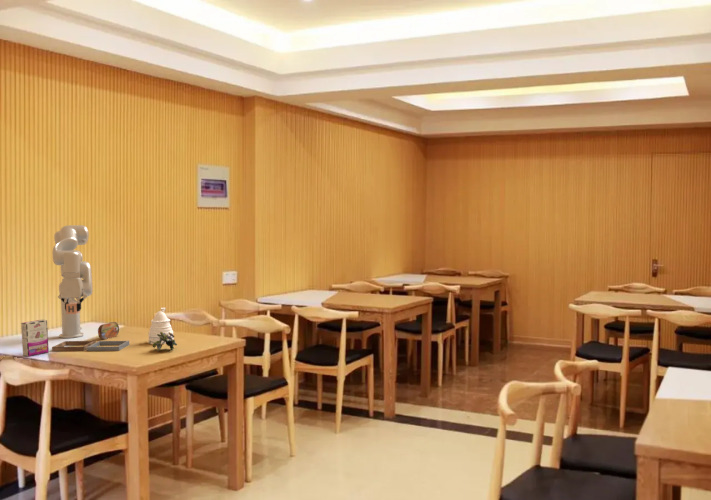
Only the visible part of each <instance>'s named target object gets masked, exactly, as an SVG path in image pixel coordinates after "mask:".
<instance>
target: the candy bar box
mask: <svg viewBox="0 0 711 500" xmlns="http://www.w3.org/2000/svg"><path fill="white" fill-rule="evenodd" d="M20 324H21V325H20V327H21V328H20V329H21V343H22V345H21V346H22V356H23V357H34V356H39V355H43V354H47V353H48V354H49V352H50V351H49V333H48V332H49V331H48V330H49V329H48V328H49V327H48V320H47V319H37V320H32V321H26V322H24V321H23V322H21V323H20Z"/></svg>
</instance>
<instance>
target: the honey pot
mask: <svg viewBox="0 0 711 500" xmlns="http://www.w3.org/2000/svg"><path fill="white" fill-rule="evenodd" d="M165 312H166V307H160V310H159V311H157V312H156V314H155V315H154V317H153V318H152V320H150V322H151V324H150V328H149V330H148V343H149V342H150V340H151V341H152V342H150V344H149V345H153V344H154V343H155V342H156V341H160V337H159V336H158V335H157V333H158V334H160V332H162V333H165V334H166V335H168V336H170V334H169V332H170V333H172V334H173V335H174V330H173V328H172V325H171V322H170V321H171V319H170V318H168V317H167V315H166V313H165ZM160 335H161V334H160ZM171 337H172V336H171ZM174 338H175V337H174ZM174 338H172V339H173V340H175V339H174ZM153 342H154V343H153ZM163 342H164V341H161V344H162V343H163ZM163 345H167V344H166V342H164V343H163Z"/></svg>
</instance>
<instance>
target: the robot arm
mask: <svg viewBox="0 0 711 500" xmlns="http://www.w3.org/2000/svg"><path fill="white" fill-rule="evenodd" d="M89 236H90V232H89V228H88V227H87V226H86V225H81V224H80V225H79V224H78V225H76V224H75V225H64V226H62V227H61V228H60V230H58V231H56V232H55V233H54V236H53V238H54V244H55V245H54V246H53V247H52V248H53V249H52V261H53V264H54V265H56V266H60V273H61V275H60V276H61V277H62V280H61V282H60V283H59V285H58V291H59V295H58V296H57V299H60V308H61V309H60V310H61V311H60V312H61V333H60V334H59V335H58V336H59V338H60V339H71V338H72V339H74V338H80V337H83V336H84V332H81V330H83V328H82V327H81V311H82V303H83V302H84V301H85V299H87V298H88V297H90V296H91V295H93V292H94V290H93V287H94V286H93V275H92V266H91V264H90V263H89V261H87V260H86V261H85V260H84V261H83V253H82V252H81V251H80V250H75V249H76V248H77V247H78V246H84V245H86V244H88V241H89V238H90V237H89ZM69 303H77V311H80V313H77V314H66V304H69Z"/></svg>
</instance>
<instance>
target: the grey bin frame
mask: <svg viewBox="0 0 711 500" xmlns="http://www.w3.org/2000/svg"><path fill="white" fill-rule="evenodd" d="M99 345H100V346H99ZM97 346H98V347H97ZM128 346H130V340H98V341H96V343H94V344H92V345H90V346H88V347H87V349H86V352H115V351H117V352H118V351H121V350H123V349H124V348H126V347H128Z"/></svg>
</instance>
